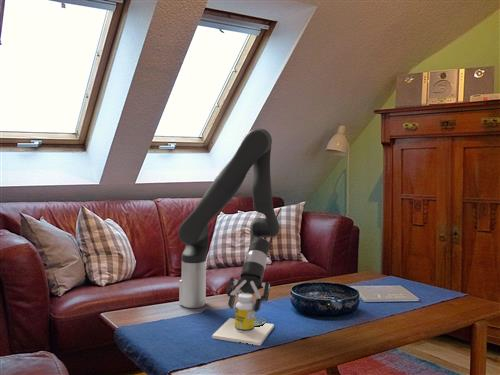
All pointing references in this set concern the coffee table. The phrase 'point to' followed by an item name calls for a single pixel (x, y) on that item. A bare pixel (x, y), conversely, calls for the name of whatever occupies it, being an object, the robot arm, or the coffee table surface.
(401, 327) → the coffee table surface
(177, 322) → the coffee table surface
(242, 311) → the pill bottle
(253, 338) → the cream tile
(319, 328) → the coffee table surface
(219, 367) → the coffee table surface
